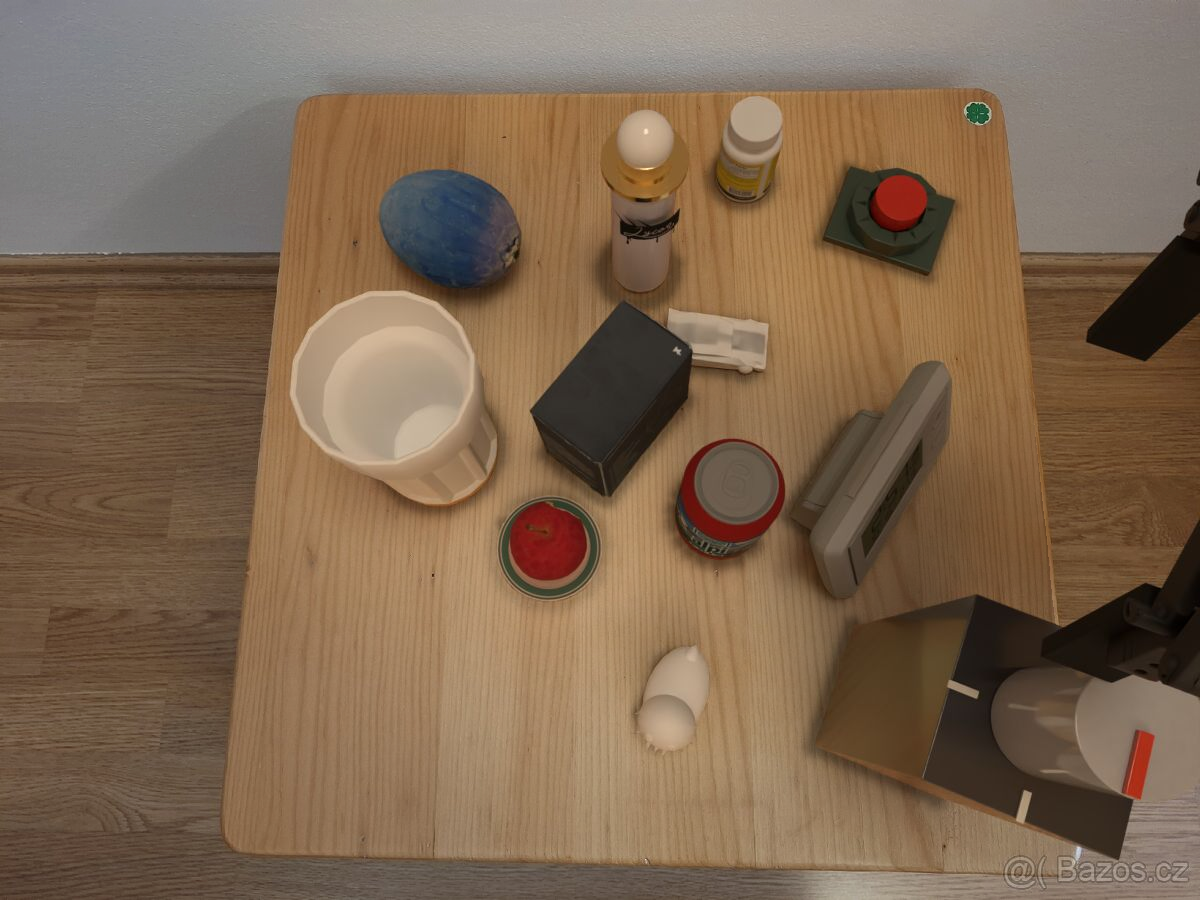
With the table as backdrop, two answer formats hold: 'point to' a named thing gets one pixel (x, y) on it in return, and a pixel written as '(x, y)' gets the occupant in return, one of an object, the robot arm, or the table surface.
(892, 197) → the button
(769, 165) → the supplement bottle
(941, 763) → the pillar
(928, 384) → the digital clock
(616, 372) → the box
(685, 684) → the toy creature
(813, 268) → the table surface
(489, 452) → the cup
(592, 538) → the apple
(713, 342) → the toy car
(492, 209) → the blue plum
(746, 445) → the beverage can
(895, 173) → the button box
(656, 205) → the perfume bottle
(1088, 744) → the hob knob
